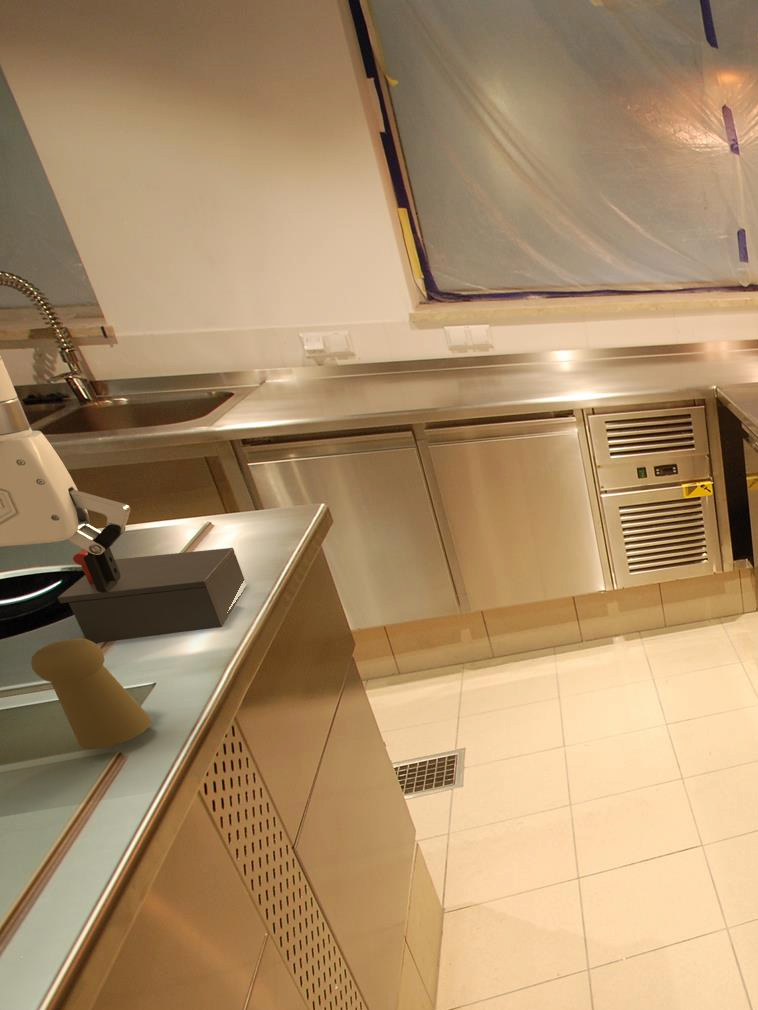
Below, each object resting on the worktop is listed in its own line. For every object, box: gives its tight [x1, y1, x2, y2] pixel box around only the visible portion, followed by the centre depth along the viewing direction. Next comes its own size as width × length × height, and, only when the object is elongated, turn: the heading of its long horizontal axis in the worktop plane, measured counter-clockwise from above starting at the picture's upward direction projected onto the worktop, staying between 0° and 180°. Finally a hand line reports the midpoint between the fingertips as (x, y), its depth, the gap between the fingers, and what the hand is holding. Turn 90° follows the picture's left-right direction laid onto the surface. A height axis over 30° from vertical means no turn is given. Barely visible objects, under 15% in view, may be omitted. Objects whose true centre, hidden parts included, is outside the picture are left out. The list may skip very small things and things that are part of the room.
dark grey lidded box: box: [68, 552, 246, 644], centre depth 116 cm, size 14×15×7 cm
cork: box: [30, 637, 153, 750], centre depth 88 cm, size 6×6×11 cm
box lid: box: [57, 547, 236, 604], centre depth 113 cm, size 15×15×5 cm
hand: (45, 594), depth 84 cm, fingers open, 9 cm apart
